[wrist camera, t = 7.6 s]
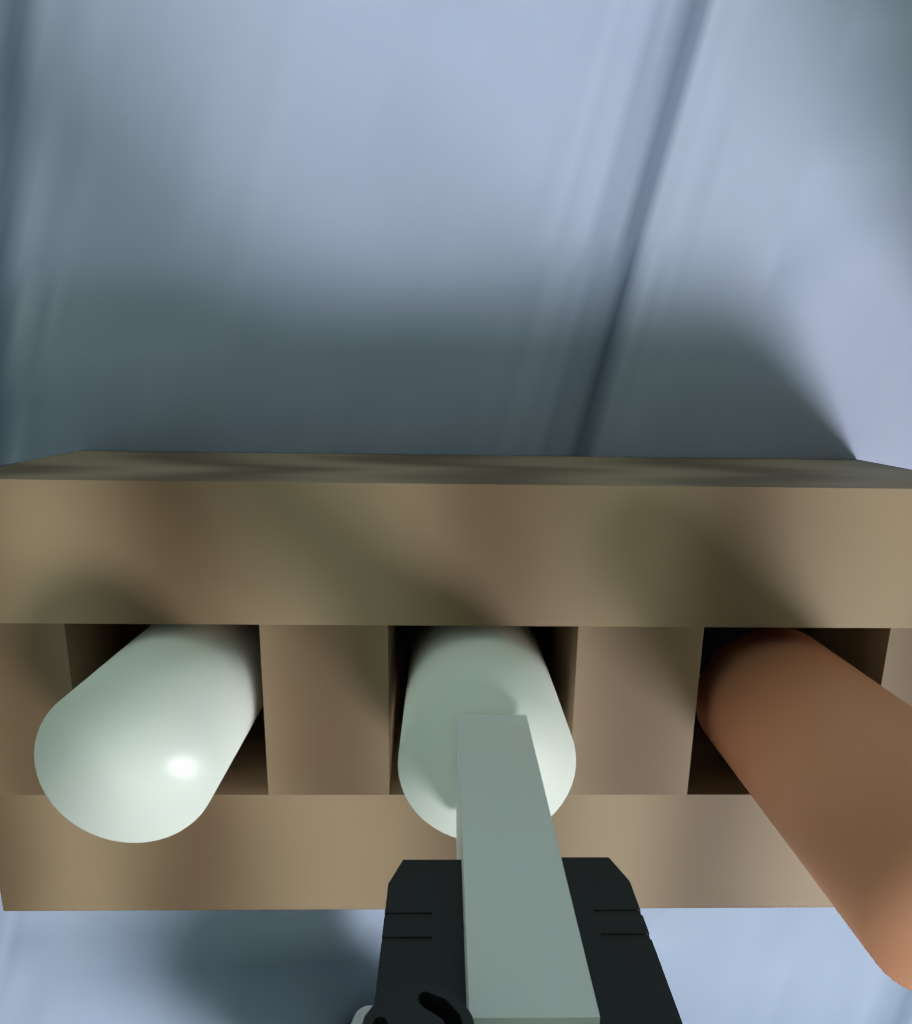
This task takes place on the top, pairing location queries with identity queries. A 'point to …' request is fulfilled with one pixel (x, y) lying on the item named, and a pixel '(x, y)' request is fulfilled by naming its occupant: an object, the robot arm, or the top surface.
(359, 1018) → the cup
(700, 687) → the rust plug
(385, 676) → the socket board
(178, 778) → the plug
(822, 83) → the top surface
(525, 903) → the robot arm
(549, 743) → the plug
